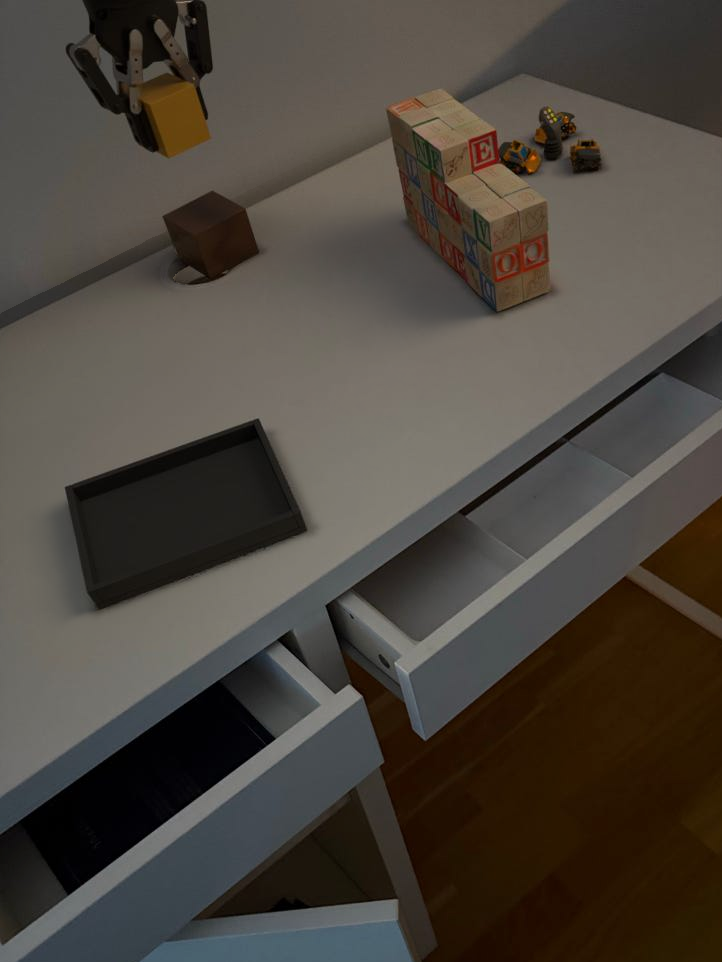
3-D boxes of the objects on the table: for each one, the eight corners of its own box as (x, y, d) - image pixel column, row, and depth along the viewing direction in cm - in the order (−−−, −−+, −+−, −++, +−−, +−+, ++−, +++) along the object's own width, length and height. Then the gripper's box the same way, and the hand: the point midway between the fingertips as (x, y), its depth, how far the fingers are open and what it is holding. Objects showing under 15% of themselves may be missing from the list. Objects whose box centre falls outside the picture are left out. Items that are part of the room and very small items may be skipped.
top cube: (169, 158, 91) (149, 104, 87) (143, 144, 93) (123, 91, 89) (211, 138, 93) (194, 84, 89) (184, 125, 95) (167, 72, 91)
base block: (210, 279, 100) (194, 235, 96) (179, 259, 103) (161, 216, 99) (259, 252, 102) (245, 208, 98) (227, 233, 105) (212, 190, 101)
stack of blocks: (553, 292, 91) (546, 166, 82) (496, 314, 90) (483, 189, 80) (456, 203, 104) (440, 85, 94) (406, 222, 103) (384, 104, 93)
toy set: (557, 197, 102) (555, 152, 98) (486, 167, 108) (482, 124, 104) (631, 152, 106) (632, 108, 103) (559, 126, 112) (558, 83, 108)
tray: (98, 609, 72) (86, 592, 71) (75, 504, 80) (64, 486, 79) (307, 530, 75) (300, 512, 73) (265, 436, 83) (258, 417, 81)
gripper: (153, -100, 84) (214, 101, 97) (8, -48, 79) (94, 156, 92) (197, -88, 80) (255, 120, 93) (49, -32, 75) (132, 179, 88)
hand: (175, 137), depth 93 cm, fingers closed on top cube, 5 cm apart
